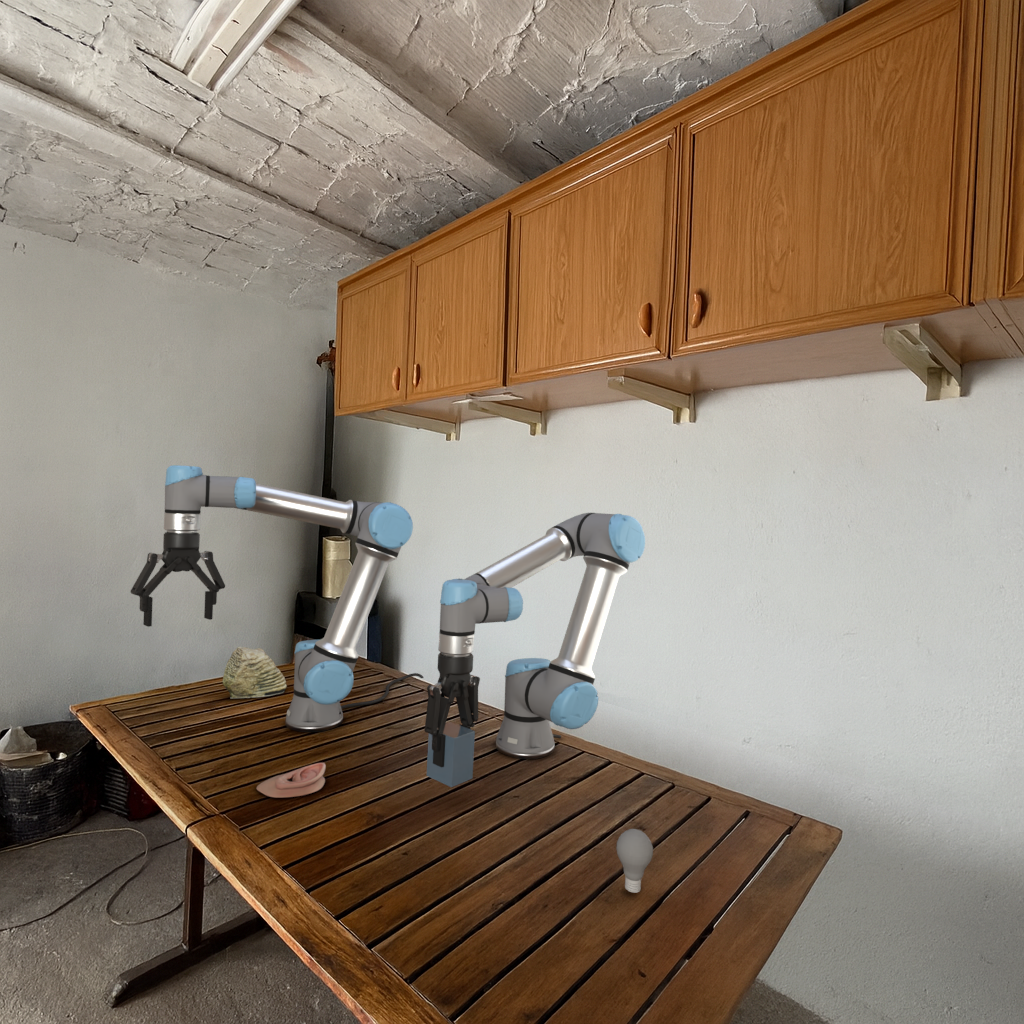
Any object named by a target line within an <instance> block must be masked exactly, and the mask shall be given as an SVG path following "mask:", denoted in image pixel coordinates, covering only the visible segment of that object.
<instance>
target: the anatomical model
mask: <svg viewBox="0 0 1024 1024" xmlns="http://www.w3.org/2000/svg"><path fill="white" fill-rule="evenodd" d="M326 768H327V765H326V763H325V762H316V763H313V764H309V765H306V766H302V767H300V768H297V769H294V770H292V771H289V772H286V773H282V774H278V775H275V776H273V777H270V778H267V779H265V780H264V781H262V782H261V783H259V784H258V785H256V790H257V792H259V793H261V794H263V795H264V796H267V797H270V798H275V799H278V798H293V797H294V798H295V797H300V796H301V797H302V796H306V795H309V794H312V793H315V792H318V791H320V790H321V789H322V788H323V787H324V785H325V783H326V778H325V777H324V775H325V772H326V770H327V769H326Z"/></svg>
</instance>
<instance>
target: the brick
mask: <svg viewBox="0 0 1024 1024" xmlns="http://www.w3.org/2000/svg"><path fill="white" fill-rule="evenodd" d="M437 729H438V728H437ZM443 735H446V740H445V759H444V767H439V766H437V765H435V764H433V750H432V735H431V734H429V733H428V739H427V758H426V773H425V774H426V777H427V778H431V779H432V780H434V781H436V782H439V783H441V784H443V785H445V786H447V787H449V788H453V787H456V786H458V785H460V784H461V785H462V784H464V783H465V782H468V781H471V780H472V779H473V775H474V758H475V756H474V755H475V741H476V739H475V736H476V730H474V729H471V728H470V729H468V728H465V727H463V726H460V724H458V723H454V722H452V721H448V722H447V721H446V724H445V728H444V731H443Z"/></svg>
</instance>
